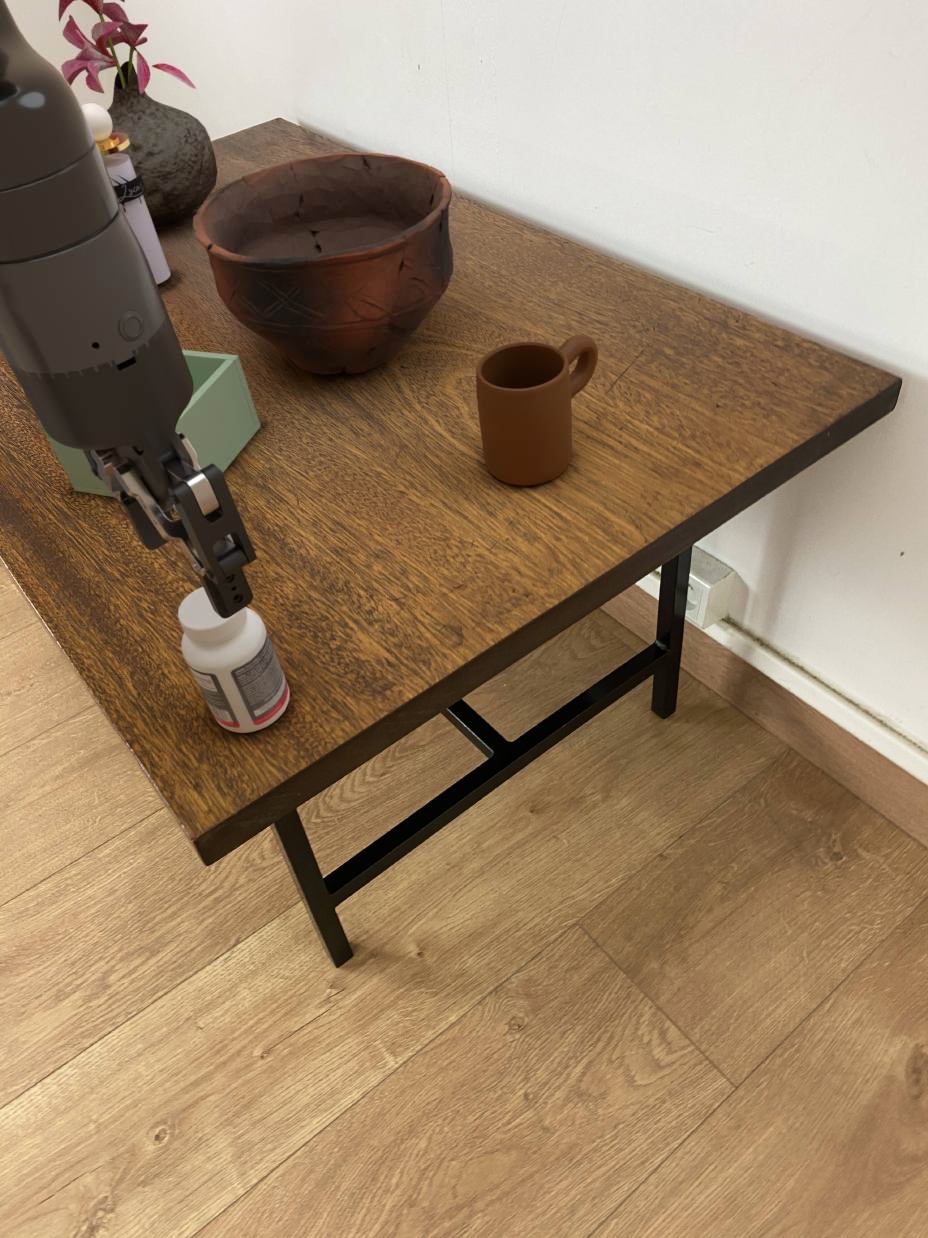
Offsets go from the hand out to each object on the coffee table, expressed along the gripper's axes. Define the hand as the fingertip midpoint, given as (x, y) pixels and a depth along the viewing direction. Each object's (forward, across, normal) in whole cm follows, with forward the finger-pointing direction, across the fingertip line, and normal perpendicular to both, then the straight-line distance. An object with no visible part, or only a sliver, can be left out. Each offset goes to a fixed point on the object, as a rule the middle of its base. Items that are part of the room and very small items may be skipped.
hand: (197, 573), depth 53 cm
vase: (+13, -81, +39) cm, 91 cm away
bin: (+13, -31, +10) cm, 35 cm away
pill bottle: (+13, 0, 0) cm, 13 cm away
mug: (+13, -4, +34) cm, 36 cm away
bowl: (+13, -33, +34) cm, 49 cm away
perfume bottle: (+13, -65, +28) cm, 72 cm away
